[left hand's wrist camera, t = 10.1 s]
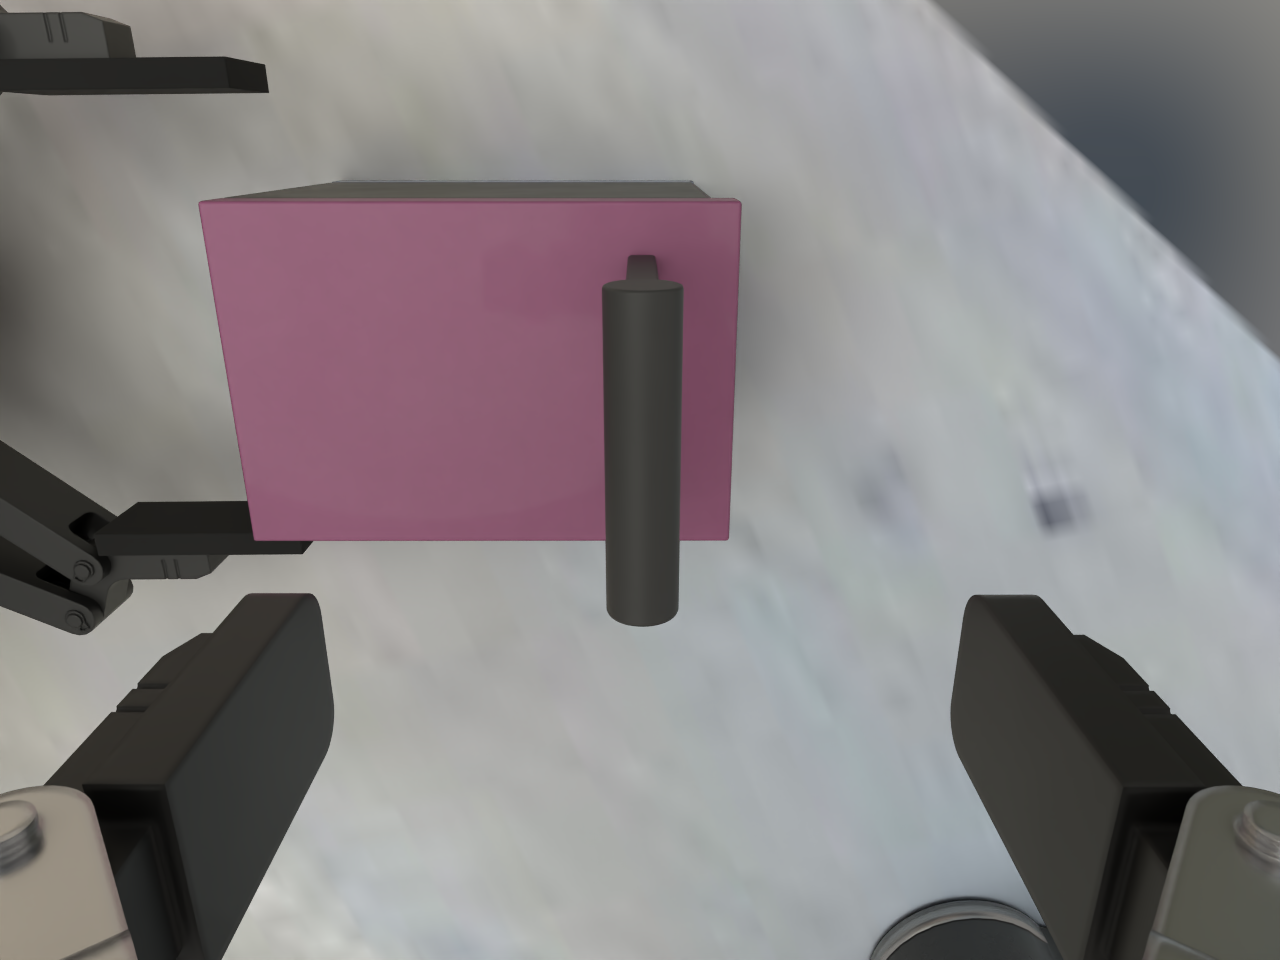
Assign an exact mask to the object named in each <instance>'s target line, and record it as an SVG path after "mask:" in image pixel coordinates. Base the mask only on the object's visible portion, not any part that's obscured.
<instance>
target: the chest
mask: <svg viewBox="0 0 1280 960" xmlns="http://www.w3.org/2000/svg"><path fill="white" fill-rule="evenodd" d="M226 198H710V197H709V196H708V195H707V194H705V193H704V192H703V191H702V190H701V189H699V188H698V187H697V186H696V185H694V184H693V181H336V182H332V183H326V184H319V185H312V186H305V187H297V188H290V189H283V190H276V191H269V192H262V193H255V194H248V195H241V196H234V197H226Z"/></svg>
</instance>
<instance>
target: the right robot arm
mask: <svg viewBox="0 0 1280 960" xmlns="http://www.w3.org/2000/svg"><path fill="white" fill-rule="evenodd" d="M2 92H12V93H25V94H38V95H111V94H206V93H269V89H268V82H267V75H266V68H265V65H264V64H259V63H254V62H249V61H244V60H239V59H234V58H229V57H146V58H136V55H135V49H134V44H133V39H132V33H131V28H130V26H128V25H125V24H123V23H120V22H118V21H115V20H113V19H110V18H105V17H101V16H96V15H92V14H88V13H83V12H62V13H58V12H49V13H8V12H7V11H6V10H5V9H3V8H2V7H1V5H0V95H1V94H2ZM312 542H313V541H256V540H254V536H253V530H252V524H251V518H250V512H249V506H248V501H203V502H137V503H136V504H135V505H133V506H132V507H130V508H129V509H128V510H126V511H125V512H124V513H122V514H121V515H119V516H118V517H117V516H115V515H114V514H112V513H111V512H109V511H108V510H106V509H105V508H103V507H102V506H100V505H98V504H97V503H95V502H94V501H92V500H91V499H89V498H88V497H86V496H85V495H83V494H82V493H80V492H79V491H77V490H76V489H74V488H72V487H71V486H69V485H68V484H66V483H65V482H63V481H62V480H60V479H59V478H57V477H56V476H54V475H53V474H51V473H50V472H48V471H46V470H45V469H43V468H42V467H40V466H39V465H37V464H36V463H34V462H33V461H31V460H30V459H28V458H27V457H25V456H24V455H22V454H20V453H19V452H17V451H16V450H14V449H13V448H11V447H10V446H8V445H7V444H5V443H4V442H2V441H1V440H0V606H2V607H4V608H7V609H9V610H12V611H15V612H17V613H20V614H22V615H25V616H28V617H30V618H33V619H35V620H38V621H41V622H43V623H46V624H48V625H51V626H54V627H56V628H59V629H61V630H64V631H67V632H69V633H72V634H76V635H85V634H88V633H89V632H91V631H92V630H93V629H94V628H96V627H97V626H98V625H99V624H100V623H101V622H102V621H103V620H105V619H106V618H107V617H108V616H109V615H110V614H111V613H112V612H113V611H115V610H116V609H117V608H118V607H119V606H120V605H121V604H122V603H123V602H125V601H126V600H127V599H128V598H129V597H130V596H131V594H132V593H133V584H132V582H131V580H130V579H166V578H168V579H178V578H181V579H197V578H200V577H202V576H205V575H208V574H210V573H212V572H213V571H214V570H215V569H216V567H217V566H218V565H219V564H220V563H221V562H222V561H223V560H224V559H225V558H226V557H227V556H228V555H256V554H303V553H304V552H305V551H306V549H307V548H308V547H309V546H310V545H311V543H312Z"/></svg>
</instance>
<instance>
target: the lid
mask: <svg viewBox="0 0 1280 960" xmlns="http://www.w3.org/2000/svg"><path fill="white" fill-rule="evenodd" d="M741 208H742V204H741V202H740V201H738V200H737V199H735V198H219V199H212V200H205V201H200V202H199V211H200V217H201V223H202V229H203V235H204V241H205V247H206V253H207V259H208V265H209V271H210V277H211V283H212V289H213V295H214V301H215V307H216V313H217V319H218V325H219V331H220V337H221V343H222V349H223V355H224V361H225V367H226V373H227V379H228V385H229V391H230V397H231V403H232V409H233V415H234V421H235V427H236V434H237V440H238V446H239V452H240V458H241V464H242V470H243V476H244V482H245V488H246V494H247V500H248V506H249V512H250V518H251V524H252V530H253V536H254V540H256V541H606V601H607V611H608V613H609V615H610V616H611V617H612V618H613V619H614V620H616V621H618V622H620V623H623V624H626V625H630V626H639V627H646V626H655V625H659V624H663V623H665V622H667V621H669V620H671V619H672V618H673V617H674V616H675V615H676V614H677V612H678V602H679V542H680V540H728V539H729V523H730V496H731V470H732V444H733V418H734V391H735V365H736V339H737V313H738V286H739V260H740V234H741Z"/></svg>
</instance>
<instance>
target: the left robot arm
mask: <svg viewBox="0 0 1280 960" xmlns="http://www.w3.org/2000/svg"><path fill="white" fill-rule="evenodd" d="M333 723H334V701H333V693H332V686H331V679H330V672H329V665H328V658H327V651H326V644H325V637H324V630H323V623H322V616H321V610H320V606H319V603H318V601H317V599H316V597H315V596H314V595H313V594H310V593H251V594H248V595H246V596H245V597H244V598H243V599H242V600H241V601H240V602H239V603H238V604H237V606H236V607H235V608H234V609H233V610H232V611H231V613H230V614H229V615H228V616H227V617H226V618H225V619H224V621H223V622H222V623H221V624H220V625H219V626H218V628H217V629H216V630H215V631H214V632H213V633H201V634H199V635H198V636H196V637H194V638H193V639H191V640H189V641H188V642H186V643H184V644H183V645H181V646H179V647H178V648H176V649H174V650H173V651H171V652H169V653H168V654H166V655H164V656H163V657H162V658H161V659H160V660H159V661H158V662H157V663H156V664H155V665H154V666H153V667H152V669H151V670H150V671H149V672H148V673H147V674H146V675H145V676H144V677H143V678H142V679H141V680H140V682H139V683H138V687H137V689H132V690H131V691H130V692H129V693H128V695H127V696H126V697H125V698H124V699H123V700H122V701H121V702H120V703H119V704H118V705H117V710H116V712H111V713H110V714H109V715H108V716H107V717H106V718H105V719H104V721H103V722H102V723H101V724H100V725H99V726H98V727H97V728H96V729H95V730H94V731H93V732H92V734H91V735H90V736H89V737H88V738H87V739H86V740H85V741H84V742H83V743H82V744H81V745H80V747H79V748H78V749H77V750H76V751H75V752H74V753H73V754H72V755H71V756H70V757H69V758H68V759H67V761H66V762H65V763H64V764H63V765H62V766H61V767H60V768H59V769H58V770H57V771H56V772H55V774H54V775H53V776H52V777H51V778H50V779H49V780H48V781H47V782H46V783H45V784H44V785H43V786H35V787H28V788H23V789H18V790H13V791H10V792H6V793H3V794H0V960H222V958H223V956H224V954H225V952H226V950H227V948H228V946H229V944H230V942H231V940H232V938H233V936H234V934H235V932H236V930H237V928H238V926H239V924H240V922H241V920H242V918H243V916H244V914H245V912H246V911H247V909H248V907H249V905H250V903H251V901H252V899H253V897H254V895H255V893H256V891H257V889H258V887H259V885H260V883H261V881H262V879H263V877H264V875H265V873H266V871H267V869H268V867H269V865H270V864H271V862H272V860H273V858H274V856H275V854H276V852H277V850H278V848H279V846H280V844H281V842H282V840H283V838H284V836H285V834H286V832H287V830H288V828H289V826H290V824H291V822H292V820H293V818H294V816H295V815H296V813H297V811H298V809H299V807H300V805H301V803H302V801H303V799H304V797H305V795H306V793H307V791H308V789H309V787H310V785H311V783H312V781H313V779H314V777H315V775H316V773H317V771H318V769H319V767H320V766H321V764H322V762H323V760H324V758H325V756H326V753H327V751H328V748H329V745H330V741H331V737H332V731H333ZM951 728H952V735H953V740H954V744H955V748H956V751H957V753H958V756H959V758H960V760H961V762H962V764H963V766H964V768H965V770H966V771H967V773H968V775H969V777H970V779H971V781H972V783H973V785H974V787H975V789H976V791H977V793H978V795H979V797H980V799H981V801H982V802H983V804H984V806H985V808H986V810H987V812H988V814H989V816H990V818H991V820H992V822H993V824H994V826H995V828H996V830H997V831H998V833H999V835H1000V837H1001V839H1002V841H1003V843H1004V845H1005V847H1006V849H1007V851H1008V853H1009V855H1010V857H1011V859H1012V861H1013V862H1014V864H1015V866H1016V868H1017V870H1018V872H1019V874H1020V876H1021V878H1022V880H1023V882H1024V884H1025V886H1026V888H1027V890H1028V892H1029V893H1030V895H1031V897H1032V899H1033V901H1034V903H1035V905H1036V907H1037V909H1038V911H1039V913H1040V915H1041V917H1042V919H1043V921H1044V922H1045V924H1046V926H1047V927H1041V926H1038V925H1037V924H1036V923H1035V922H1034V921H1033V920H1032V919H1031V918H1029V917H1028V916H1027V915H1025V914H1023V913H1022V912H1020V911H1018V910H1016V909H1013V908H1011V907H1008V906H1005V905H1002V904H998V903H994V902H988V901H978V900H965V901H954V902H948V903H943V904H939V905H936V906H932V907H929V908H926V909H924V910H921V911H919V912H917V913H915V914H913V915H911V916H909V917H908V918H906V919H904V920H903V921H901V922H900V923H898V924H897V925H896V926H895V927H893V928H892V929H891V930H890V931H889V932H888V933H887V934H886V935H885V936H884V937H883V939H882V940H881V941H880V942H879V944H878V945H877V947H876V948H875V950H874V952H873V954H872V957H871V959H870V960H1280V794H1277V793H1274V792H1270V791H1267V790H1262V789H1257V788H1252V787H1245V786H1242V785H1241V784H1240V783H1239V782H1238V781H1237V780H1236V779H1235V778H1234V776H1233V775H1232V774H1231V773H1230V772H1229V771H1228V770H1227V769H1226V768H1225V767H1224V766H1223V765H1222V764H1221V763H1220V761H1219V760H1218V759H1217V758H1216V757H1215V756H1214V755H1213V754H1212V753H1211V752H1210V751H1209V750H1208V749H1207V747H1206V746H1205V745H1204V744H1203V743H1202V742H1201V741H1200V740H1199V739H1198V738H1197V737H1196V736H1195V735H1194V734H1193V732H1192V731H1191V730H1190V729H1189V728H1188V727H1187V726H1186V725H1185V724H1184V723H1183V722H1182V721H1181V720H1180V719H1179V717H1178V716H1177V715H1176V714H1171V713H1170V708H1169V707H1168V706H1167V705H1166V703H1165V702H1164V701H1163V700H1162V699H1161V698H1160V697H1159V696H1158V695H1157V694H1156V693H1155V692H1154V691H1149V685H1148V684H1147V683H1146V682H1145V681H1144V680H1143V679H1142V678H1141V677H1140V676H1139V675H1138V673H1137V672H1136V671H1135V670H1134V669H1133V668H1132V667H1131V666H1130V665H1129V664H1128V663H1127V662H1126V661H1125V659H1124V658H1122V657H1120V656H1119V655H1117V654H1115V653H1114V652H1112V651H1110V650H1109V649H1107V648H1105V647H1104V646H1102V645H1100V644H1099V643H1097V642H1095V641H1094V640H1092V639H1090V638H1089V637H1087V636H1085V635H1073V634H1072V633H1071V632H1070V630H1069V629H1068V628H1067V627H1066V626H1065V625H1064V624H1063V622H1062V621H1061V620H1060V619H1059V618H1058V617H1057V616H1056V614H1055V613H1054V612H1053V611H1052V610H1051V609H1050V608H1049V606H1048V605H1047V604H1046V603H1045V602H1044V601H1043V600H1042V599H1041V598H1040V597H1039V596H1037V595H973V596H972V597H971V598H970V599H969V600H968V602H967V605H966V608H965V611H964V617H963V623H962V630H961V637H960V644H959V651H958V658H957V665H956V672H955V679H954V686H953V693H952V700H951Z"/></svg>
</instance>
